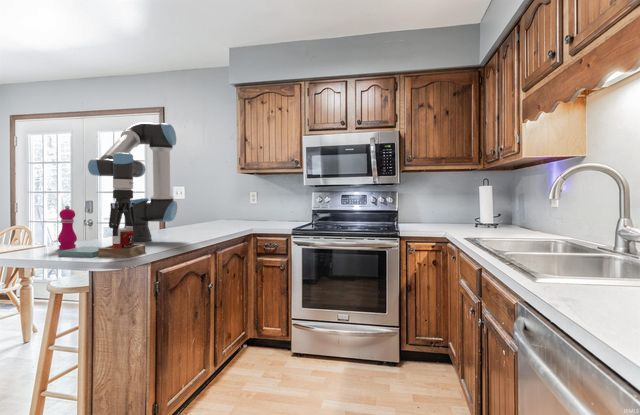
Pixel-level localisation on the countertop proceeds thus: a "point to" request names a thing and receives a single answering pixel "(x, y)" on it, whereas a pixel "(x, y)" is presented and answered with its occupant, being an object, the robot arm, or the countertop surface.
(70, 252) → the plate
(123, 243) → the canned food
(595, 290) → the countertop surface
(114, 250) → the collar
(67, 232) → the pepper mill
